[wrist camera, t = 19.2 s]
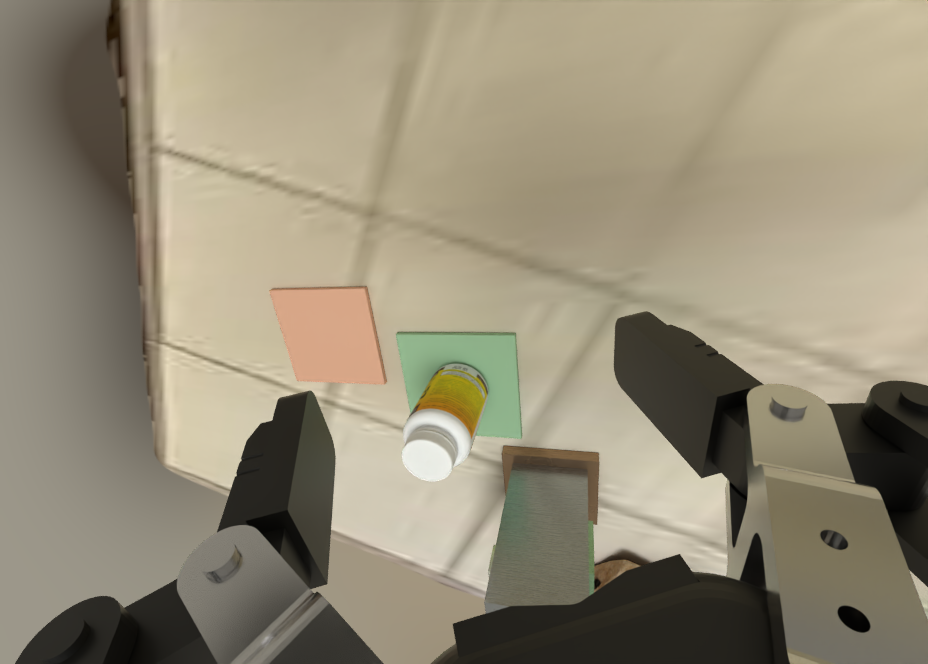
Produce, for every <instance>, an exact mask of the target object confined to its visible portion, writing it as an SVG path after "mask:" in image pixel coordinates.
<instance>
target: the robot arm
mask: <svg viewBox="0 0 928 664" xmlns="http://www.w3.org/2000/svg"><path fill="white" fill-rule="evenodd" d="M614 371H615V376H616V379H617V381H618V383H619V385H620V387H621V388H622V389H623V390H624V392H625V393H626V394H627V395H628V396H629V397H630V398H631V399H632V401H633V402H634V403H635V404H636V405H637V406H638V407H639V408H640V410H641V411H642V412H643V413H644V414H645V415H646V416H647V417H648V419H649V420H650V421H651V422H652V423H653V424H654V425H655V426H656V428H657V429H658V430H659V431H660V432H661V433H662V434H663V435H664V437H665V438H666V439H667V440H668V441H669V442H670V443H671V444H672V446H673V447H674V448H675V449H676V450H677V451H678V452H679V453H680V455H681V456H682V457H683V458H684V459H685V460H686V461H687V462H688V464H689V465H690V466H691V467H692V468H693V469H694V470H695V471H696V473H697V474H698V475H699V476H700V477H701V478H704V477H707V476H711V475H714V474H718V473H722V474H723V475H724V476H725V477H726V478H727V483H726V488H725V495H726V522H727V550H728V565H727V575H726V576H721V575H717V574H710V573H701V572H692V571H691V570H690V568H689V567H688V565H687V564H686V562H685V561H684V560H683V558H682V557H681V555H680V554H679V555H675V556H672V557H669V558H665V559H662V560H659V561H656V562H652V563H649V564H646V565H643V566H639V567H636V568H633V569H630V570H626V571H625V572H624V573H622V574H621V575H619V576H618V577H616V578H615V579H613V580H612V581H610V582H609V583H607V584H606V585H604V586H603V587H602V588H600V589H599V590H597V591H596V592H594V593H593V594H591V595H590V596H588V597H587V598H585V599H584V600H583V601H581V602H579V603H576V604H571V605H530V606H509V607H506V608H503V609H499V610H496V611H493V612H490V613H486V614H483V615H480V616H477V617H473V618H470V619H467V620H464V621H460V622H457V623H454V624H453V628H454V634H455V639H456V644H455V645H453V646H452V647H450V648H449V649H447V650H446V651H444V652H443V653H442V654H441V655H440V656H439V657H438V658H436V659H435V660H434V661H433V662H432V663H431V664H928V619H927V616H926V614H925V611H924V608H923V606H922V603H921V600H920V598H919V595H918V592H917V590H916V587H915V584H914V582H913V579H912V576H911V574H910V571H911V572H912V573H913V574H914V575H915V576H917V577H918V578H919V579H920V580H921V581H922V582H923V583H924V584H925V585H926V586H927V587H928V386H926V385H923V384H918V383H913V382H906V381H887V382H882V383H878V384H876V385H874V386H873V387H872V389H871V391H870V393H869V396H868V398H867V401H866V403H849V404H827V403H825V402H824V401H823V400H822V399H821V398H819V397H818V396H816V395H814V394H812V393H810V392H808V391H806V390H803V389H800V388H797V387H793V386H789V385H783V384H765V385H764V384H762V383H761V382H759V381H758V380H757V379H755V378H754V377H752V376H751V375H750V374H748V373H747V372H745V371H744V370H743V369H741V368H740V367H739V366H737V365H736V364H734V363H733V362H732V361H730V360H729V359H727V358H726V357H725V356H723V355H722V354H718V351H716V350H715V349H714V348H712V347H711V346H709V345H706V343H705V342H704V341H702V340H701V339H700V338H698V337H697V336H695V335H694V334H693V333H691V332H689V331H686V330H684V329H681V328H678V327H676V326H673V325H666V324H665V323H663V322H662V321H661V320H659V319H658V318H657V317H655V316H654V315H653V314H651V313H650V312H641V313H637V314H633V315H629V316H625V317H621V318H619V319H618V320H617V321H616V325H615V349H614ZM241 459H242V461H241V462H240V463H239V466H238V470H237V476H236V477H235V479H234V482H233V485H232V488H231V491H230V494H229V497H228V500H227V503H226V507H225V509H224V512H223V515H222V519H221V522H220V525H219V528H218V531H217V533H216V534H213V535H212V536H210V537H209V538H207V539H206V540H205V541H204V542H202V543H201V544H200V545H199V546H198V547H197V548H196V549H195V550H194V551H193V552H192V553H191V554H190V555H189V557H188V558H187V560H186V561H185V563H184V564H183V566H182V568H181V570H180V573H179V575H178V578H177V579H176V580H174V581H173V582H171V583H169V584H167V585H166V586H164V587H162V588H160V589H158V590H156V591H154V592H153V593H151V594H149V595H147V596H145V597H143V598H142V599H140V600H138V601H136V602H134V603H132V604H131V605H129V606H127V607H125V608H124V607H123V606H122V605H121V604H120V603H118V601H116V600H115V599H114V598H112V597H108V596H99V597H94V598H90V599H87V600H84V601H82V602H80V603H78V604H76V605H74V606H72V607H70V608H69V609H67V610H65V611H64V612H62V613H61V614H60V615H58V616H57V617H55V618H54V619H53V620H52V621H51V622H49V623H48V624H47V625H46V626H45V627H44V628H43V629H42V630H41V631H40V632H38V634H37V635H36V636H35V637H34V638H33V639H32V640H31V641H30V642H29V644H28V645H27V646H26V648H25V649H24V650H23V652H22V653H21V655H20V657H19V658H18V660H17V661H16V663H15V664H383V663H382V662H381V660H380V659H379V658H378V657H377V656H376V655H375V654H374V653H373V651H372V650H371V649H370V648H369V647H368V646H367V645H366V644H365V642H364V641H363V640H362V639H361V638H360V637H359V636H358V635H357V633H356V632H355V631H354V630H353V629H352V628H351V627H350V626H349V625H348V623H347V622H346V621H345V620H344V619H343V618H342V617H341V616H340V615H339V613H338V612H337V611H336V610H335V609H334V608H333V607H332V606H331V604H330V603H329V602H328V601H327V600H326V599H325V598H324V597H323V596H322V595H321V594H320V593H318V592H316V593H315V594H314V593H313V592H312V591H311V590H310V589H312V588H316V587H319V586H322V585H326V584H327V579H328V565H329V550H330V535H331V521H332V506H333V491H334V476H335V449H334V444H333V440H332V437H331V434H330V432H329V429H328V427H327V424H326V422H325V419H324V417H323V414H322V412H321V409H320V407H319V404H318V402H317V400H316V397H315V395H314V393H313V392H312V391H307V392H302V393H298V394H294V395H290V396H286V397H282V398H279V399H278V402H277V405H276V409H275V413H274V416H273V420H272V421H269V422H265V423H261V424H260V425H259V426H258V428H257V429H256V430H255V431H254V433H253V434H252V435H251V436H250V438H249V439H248V440H247V442H246V445H245V448H244V451H243V454H242V457H241ZM909 570H910V571H909Z"/></svg>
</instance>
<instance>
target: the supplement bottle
mask: <svg viewBox="0 0 928 664" xmlns="http://www.w3.org/2000/svg"><path fill="white" fill-rule="evenodd" d="M487 400H488V387H487V384H486V381H485V380H484V378H483V377H482V375H481V374H480V373H479V372H478V371H476V370H475V369H473V368H472V367H469V366H467V365H463V364H448V365H445V366H443V367H441V368H440V369H438V370H437V371H436V372H435V374H434V375H433V377H432V378H431V380H430V382H429V383H428V385H427V387H426V389H425V390H424V392H423V394H422V395H421V397H420V399H419V401H418V402H417V404H416V406H415V407H414V409H413V411H412V412H411V414H410V416H409V418H408V419H407V421H406V423H405V426H404V429H403V439H404V443H405V446H404V448H403V450H402V461H403V464H404V465H405V467H406V468H407V470H408V471H409V472H410V473H411V474H413V475H414V476H416V477H418V478H420V479H422V480H425V481H440V480H443V479H445V478H446V477H447V476H448V475H449V474H450V473H451V471H452V468H453V467H455V466H457V465H459V464H461V463H462V462H463V461H464V460H465V459H466V458H467V456H468V455H469V453H470V450H471V448H472V445H473V442H474V439H475V436H476V433H477V430H478V427H479V424H480V421H481V418H482V415H483V412H484V409H485V406H486V403H487Z"/></svg>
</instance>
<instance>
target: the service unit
mask: <svg viewBox="0 0 928 664" xmlns="http://www.w3.org/2000/svg"><path fill="white" fill-rule="evenodd" d="M502 460H503V472H504V483H505V494H506V499H505V503H504V508H503V513H502V518H501V523H500V528H499V533H498V538H497V543H496V545H494V546H493V551H492V556H491V560H490V565H489V570H488V575H489V582H488V587H487V592H486V597H485V602H484V603H485V611H486V613H490V612H493V611H496V610H499V609H503V608H506V607H509V606H530V605H571V604H576V603H579V602H581V601H583V600H584V599H585V598H587V597H588V596H590V595H591V594H593V593H594V538H593V524H596V525H597V513H598V479H599V453H593V452H579V451H566V450H553V449H540V448H527V447H514V446H504V447H503V452H502Z"/></svg>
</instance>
